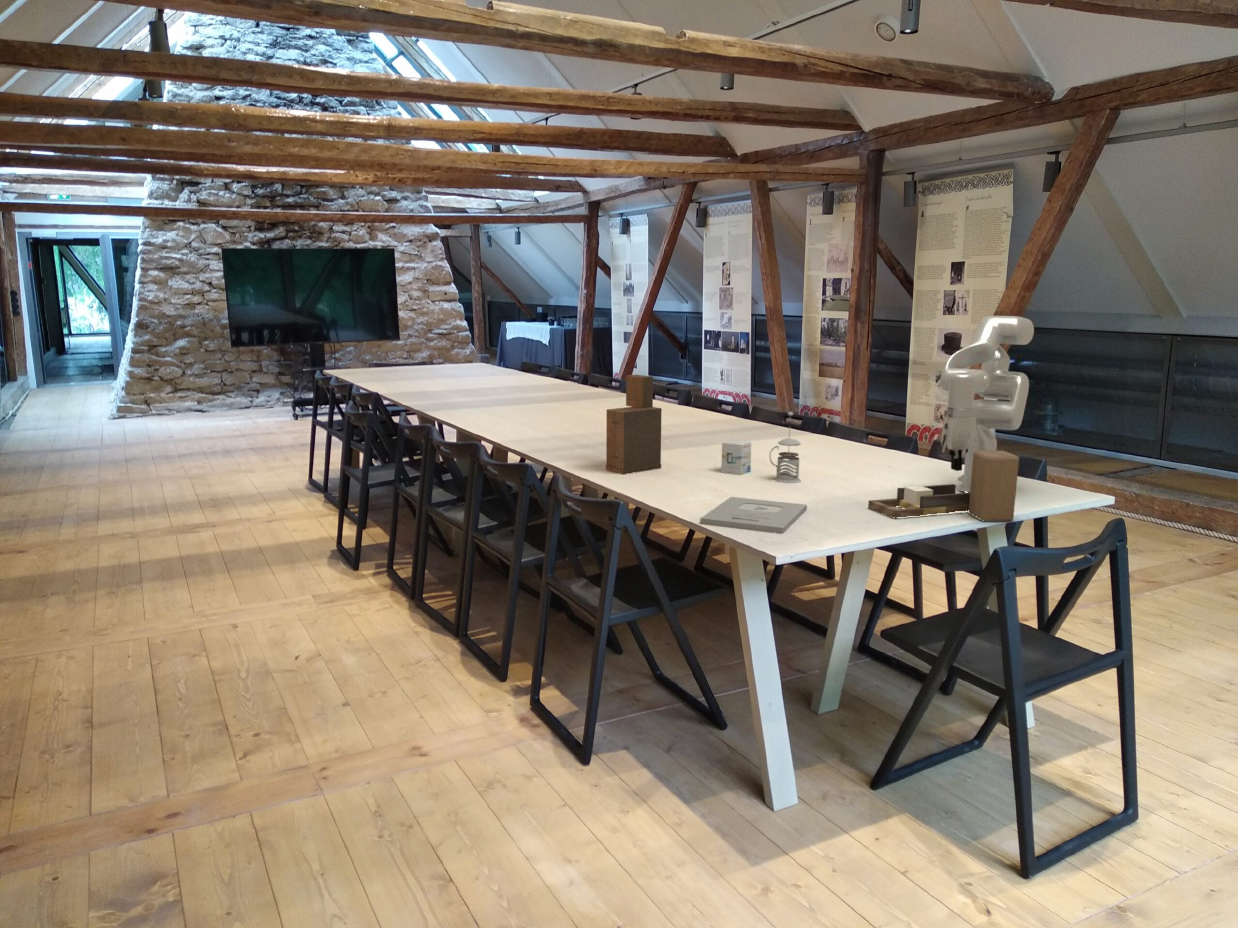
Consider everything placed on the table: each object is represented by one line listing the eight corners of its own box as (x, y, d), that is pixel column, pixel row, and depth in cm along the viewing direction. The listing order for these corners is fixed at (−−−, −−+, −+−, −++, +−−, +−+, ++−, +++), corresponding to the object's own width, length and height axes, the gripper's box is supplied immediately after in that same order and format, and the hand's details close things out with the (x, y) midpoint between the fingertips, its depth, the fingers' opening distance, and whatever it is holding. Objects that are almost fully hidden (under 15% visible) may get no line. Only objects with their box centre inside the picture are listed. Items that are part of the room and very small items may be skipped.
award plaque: (700, 525, 253) (700, 518, 252) (730, 503, 279) (731, 496, 279) (782, 535, 242) (783, 527, 242) (806, 511, 269) (807, 504, 269)
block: (998, 513, 266) (1004, 449, 262) (1014, 522, 256) (1020, 456, 252) (966, 513, 266) (972, 450, 262) (981, 522, 256) (987, 456, 252)
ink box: (731, 469, 331) (731, 439, 329) (751, 471, 327) (752, 441, 324) (720, 472, 325) (721, 442, 322) (741, 475, 320) (742, 444, 318)
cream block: (903, 501, 271) (904, 487, 270) (919, 499, 273) (920, 485, 272) (915, 505, 265) (916, 491, 264) (931, 504, 267) (933, 489, 266)
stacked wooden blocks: (637, 462, 343) (638, 374, 336) (661, 468, 332) (662, 377, 325) (599, 468, 331) (599, 377, 324) (623, 474, 320) (623, 380, 313)
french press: (801, 483, 306) (804, 414, 301) (768, 482, 309) (771, 413, 304) (801, 478, 316) (804, 410, 311) (769, 476, 318) (771, 409, 313)
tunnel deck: (868, 508, 272) (869, 489, 270) (960, 500, 282) (962, 482, 281) (894, 519, 258) (896, 499, 257) (990, 510, 269) (992, 492, 268)
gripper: (947, 416, 262) (943, 475, 266) (988, 412, 266) (984, 470, 270) (931, 412, 268) (928, 469, 273) (971, 408, 273) (968, 464, 277)
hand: (956, 469), depth 272 cm, fingers closed
